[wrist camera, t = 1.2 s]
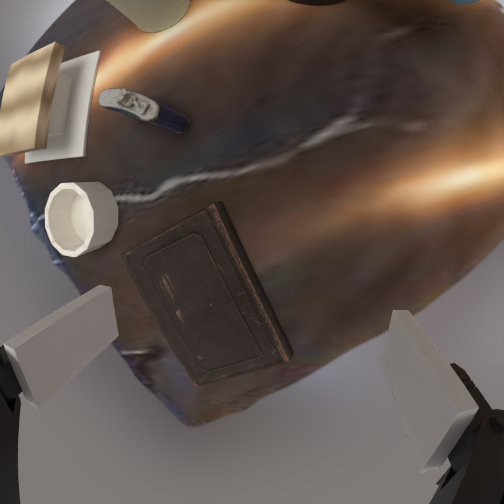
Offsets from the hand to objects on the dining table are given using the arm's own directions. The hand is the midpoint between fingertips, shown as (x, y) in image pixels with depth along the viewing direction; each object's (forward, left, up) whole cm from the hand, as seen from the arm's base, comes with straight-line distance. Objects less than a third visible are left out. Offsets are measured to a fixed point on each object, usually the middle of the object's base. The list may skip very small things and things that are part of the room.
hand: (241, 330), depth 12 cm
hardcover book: (+10, -8, -25) cm, 29 cm away
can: (-34, -19, -25) cm, 46 cm away
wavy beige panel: (-19, -37, -18) cm, 45 cm away
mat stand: (-19, -37, -25) cm, 49 cm away
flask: (-15, -16, -25) cm, 33 cm away
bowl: (-1, -27, -25) cm, 37 cm away
